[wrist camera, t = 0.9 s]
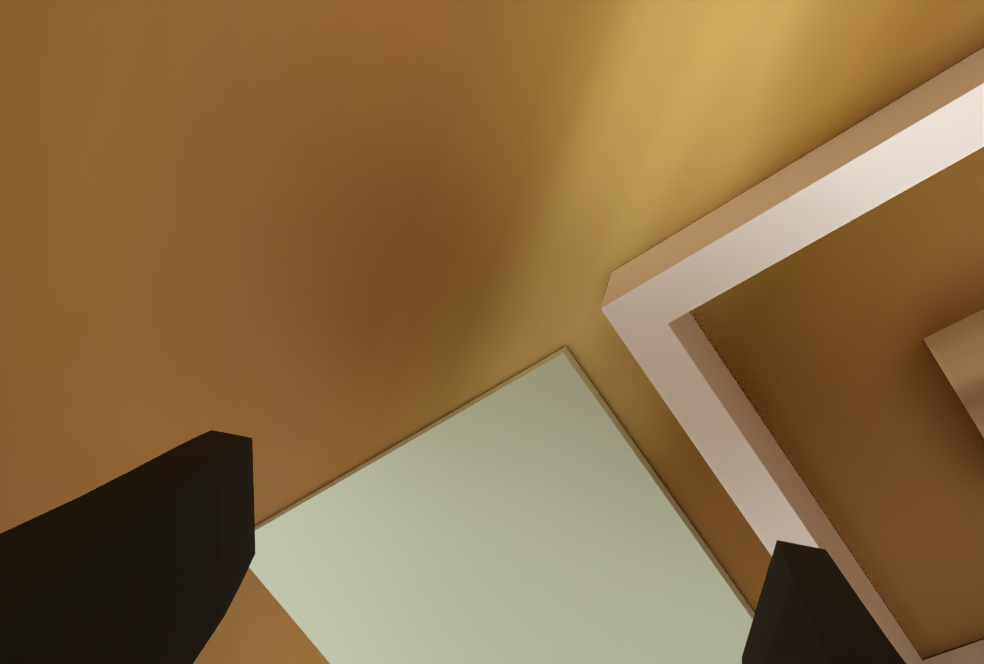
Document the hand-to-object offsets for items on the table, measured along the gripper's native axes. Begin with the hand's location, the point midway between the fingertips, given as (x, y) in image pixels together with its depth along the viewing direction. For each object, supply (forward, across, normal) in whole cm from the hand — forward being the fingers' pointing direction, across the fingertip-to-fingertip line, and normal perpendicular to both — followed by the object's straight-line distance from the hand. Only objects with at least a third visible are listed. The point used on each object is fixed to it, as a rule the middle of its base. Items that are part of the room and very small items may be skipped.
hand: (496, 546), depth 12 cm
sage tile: (+10, 0, +10) cm, 14 cm away
